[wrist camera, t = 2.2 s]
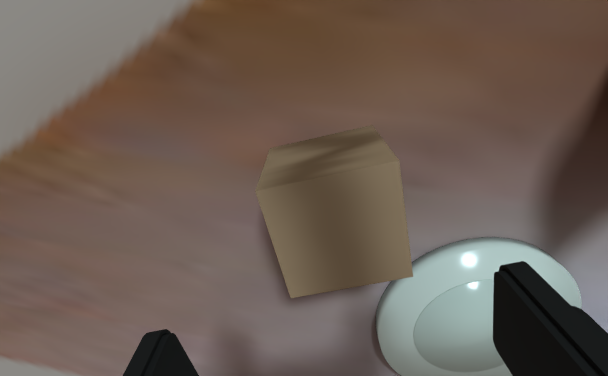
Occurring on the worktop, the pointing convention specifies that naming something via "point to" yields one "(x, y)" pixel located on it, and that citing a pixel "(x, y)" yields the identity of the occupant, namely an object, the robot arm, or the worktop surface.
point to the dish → (456, 307)
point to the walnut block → (336, 212)
